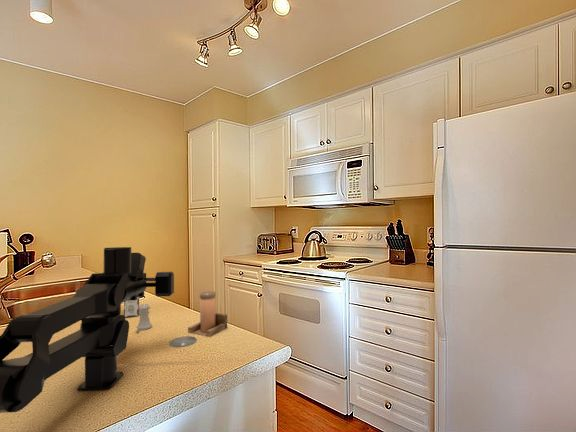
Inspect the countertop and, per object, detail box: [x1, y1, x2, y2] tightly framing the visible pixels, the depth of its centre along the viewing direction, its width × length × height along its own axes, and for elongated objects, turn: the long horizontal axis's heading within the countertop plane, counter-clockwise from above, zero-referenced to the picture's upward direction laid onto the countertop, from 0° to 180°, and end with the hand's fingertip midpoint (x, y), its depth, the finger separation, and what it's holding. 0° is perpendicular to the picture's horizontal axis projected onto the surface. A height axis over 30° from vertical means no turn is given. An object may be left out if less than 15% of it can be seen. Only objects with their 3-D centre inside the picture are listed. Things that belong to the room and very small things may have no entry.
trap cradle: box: [187, 312, 228, 338], centre depth 96 cm, size 8×8×5 cm
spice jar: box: [199, 290, 216, 333], centre depth 96 cm, size 5×5×11 cm
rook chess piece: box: [136, 303, 153, 334], centre depth 99 cm, size 4×4×8 cm
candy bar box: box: [123, 297, 140, 318], centre depth 118 cm, size 11×5×16 cm, turn 25°
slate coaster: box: [169, 335, 198, 348], centre depth 87 cm, size 7×7×1 cm
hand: (150, 279), depth 93 cm, fingers open, 9 cm apart
